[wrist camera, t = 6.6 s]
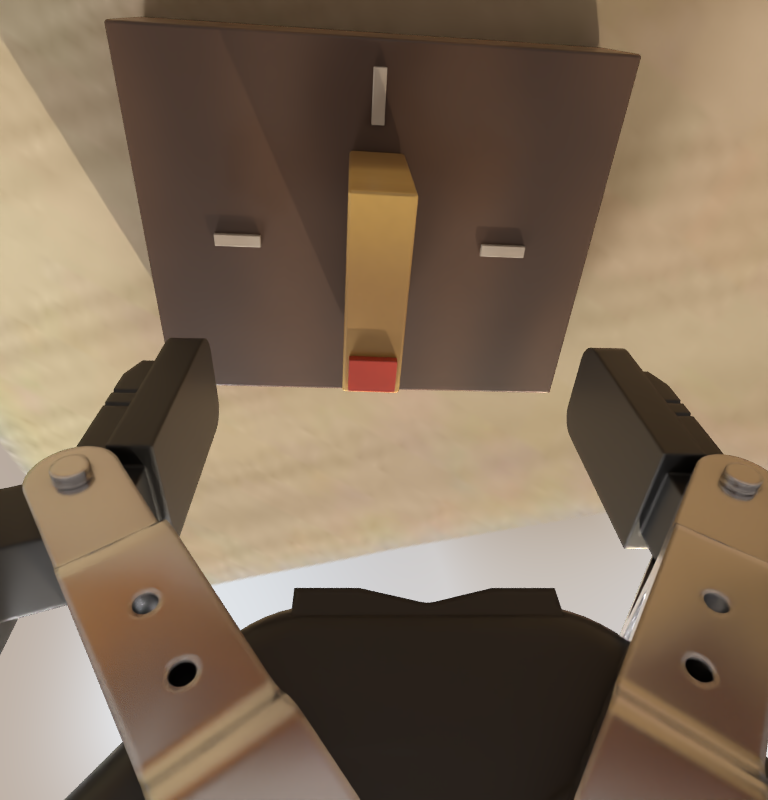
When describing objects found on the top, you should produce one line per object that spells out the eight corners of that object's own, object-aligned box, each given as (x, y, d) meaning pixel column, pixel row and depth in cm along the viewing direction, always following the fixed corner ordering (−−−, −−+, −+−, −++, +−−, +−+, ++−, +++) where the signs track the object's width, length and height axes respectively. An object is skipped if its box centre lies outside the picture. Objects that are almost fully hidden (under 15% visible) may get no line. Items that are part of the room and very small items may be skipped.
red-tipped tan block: (349, 149, 16) (348, 192, 12) (405, 153, 16) (419, 197, 13) (344, 322, 19) (342, 397, 16) (390, 324, 19) (399, 398, 16)
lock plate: (602, 47, 18) (645, 55, 15) (529, 353, 24) (550, 396, 21) (139, 16, 17) (100, 19, 14) (191, 344, 23) (170, 387, 20)
